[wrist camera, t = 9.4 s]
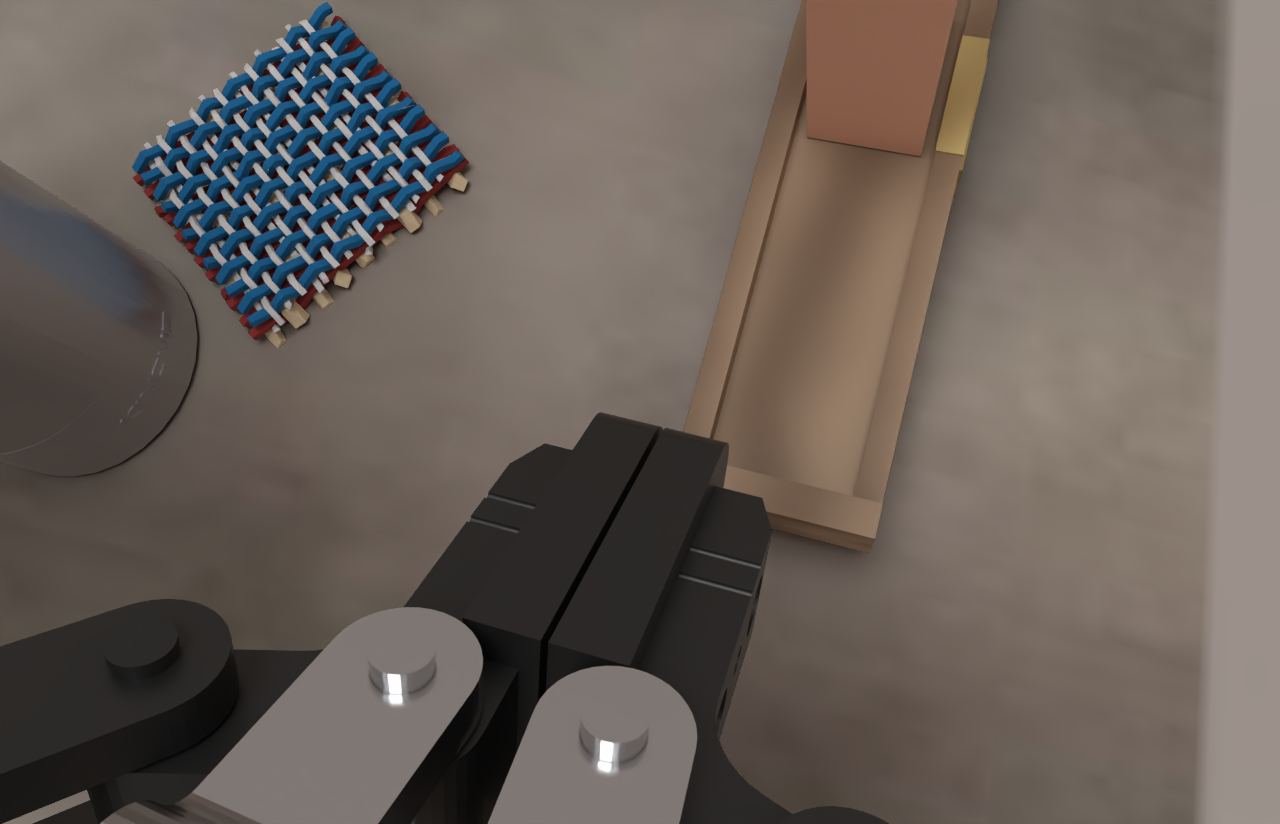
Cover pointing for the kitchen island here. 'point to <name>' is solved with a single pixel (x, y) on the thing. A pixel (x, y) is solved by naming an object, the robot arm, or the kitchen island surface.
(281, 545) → the kitchen island surface
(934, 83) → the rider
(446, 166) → the woven mat
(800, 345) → the beam
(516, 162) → the kitchen island surface
